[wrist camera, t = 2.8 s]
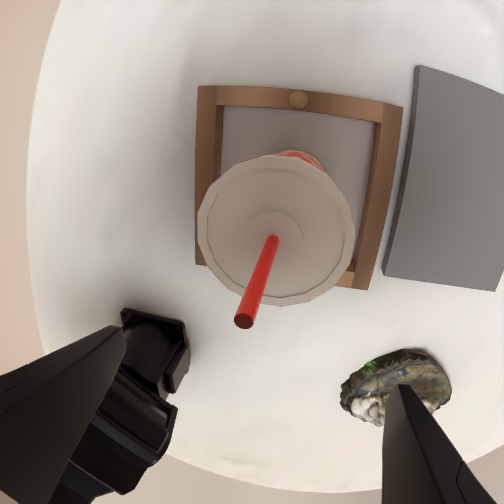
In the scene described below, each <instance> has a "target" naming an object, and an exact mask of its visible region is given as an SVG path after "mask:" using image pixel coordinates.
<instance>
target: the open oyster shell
mask: <svg viewBox="0 0 504 504" xmlns="http://www.w3.org/2000/svg"><path fill="white" fill-rule="evenodd" d="M397 383H406V384H409V385H410V386H411V387H412V388H413V390H414V391H415V392H416V394H417V395H418V397H419V398H420V399H421V401H422V402H423V403H424V405H425V406H426V407H427V409H428V410H429V412H430V413H431V414H433V413H434V411H435V410H437V409H440V406H441V405H444V404H446V403H447V402H448V401H449V400H450V397H451V393H452V388H451V384H450V382H449V380H448V377H447V375H446V374H445V372H444V370H443V369H442V368H441V366H440V365H439V364H438V363H437V362H436V360H435V359H434V358H433V357H431V356H429V355H427V354H425V353H423V352H417V351H411V350H405V349H403V350H400V351H397V352H394V353H390V354H387V355H384V356H381V357H378V358H375V359H373V360H372V361H370V362H368V363H366V364H365V365H364V367H362V368H361V369H359V370H358V371H356V372H354V373H352V374H351V375H350V378H349V379H348V380H346V382H344V383H343V384H342V385H341V388H342V392H341V393H340V398H341V401H340V405H341V407H342V408H343V409H344V410H345V411H349V412H350V413H351V415H352V416H354V417H357V418H359V419H361V420H363V421H364V422H368V421H369V422H371V423H373V424H375V425H376V426H379V427H380V426H383V425H384V421H385V406H386V401H387V398H388V397H389V395H390V393H391V392H392V390H393V388H394V387H395V385H396V384H397Z"/></svg>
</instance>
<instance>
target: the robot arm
mask: <svg viewBox="0 0 504 504" xmlns="http://www.w3.org/2000/svg"><path fill="white" fill-rule="evenodd" d="M120 314H121V319H122V324H123V326H122V327H121V328H120V327H117V326H114V325H110V326H107V327H105V328H103V329H101V330H99V331H97V332H95V333H93V334H90V335H88V336H86V337H84V338H82V339H80V340H78V341H76V342H74V343H71V344H69V345H67V346H65V347H63V348H61V349H59V350H57V351H54V352H52V353H50V354H48V355H46V356H44V357H42V358H39V359H37V360H35V361H33V362H31V363H29V365H28V364H27V365H24V366H22V367H20V368H18V369H16V370H13V371H11V372H9V373H6V374H3V375H1V376H0V504H91V502H92V501H93V500H94V499H95V498H96V497H99V496H102V495H105V494H108V493H111V492H114V491H115V492H117V493H119V494H120V495H125V494H126V493H129V492H130V491H132V490H134V489H135V487H136V485H137V484H138V482H139V481H140V479H141V477H142V475H143V474H144V472H145V471H146V470H147V468H148V467H151V466H153V465H154V464H156V463H157V462H158V461H159V460H160V459H161V458H162V456H163V455H164V453H165V452H166V450H167V448H168V446H169V444H170V441H171V436H172V432H173V428H174V424H175V419H176V415H177V411H178V408H177V407H175V406H174V405H171V404H170V403H168V402H167V401H166V398H167V397H168V395H169V393H171V394H174V393H176V391H177V389H178V387H179V385H180V383H181V381H182V379H183V377H184V375H185V374H186V373H187V372H188V370H189V365H190V357H189V346H188V344H187V343H186V336H185V326H184V324H183V323H181V322H179V321H174V320H170V319H166V318H162V317H158V316H153V315H149V314H145V313H141V312H137V311H134V310H130V309H126V308H124V309H123V310H122V311H121V312H120ZM177 326H178V327H179V328H178V327H177ZM462 460H463V459H462V457H461V456H460V454H459V453H458V451H457V450H456V448H455V447H454V446H453V444H452V443H451V441H450V440H449V438H448V437H447V436H446V434H445V433H444V431H443V430H442V428H441V427H440V426H439V424H438V423H437V421H436V420H435V419H434V417H433V416H432V414H431V413H430V412H429V410H428V409H427V407H426V406H425V405H424V403H423V402H422V401H421V399H420V398H419V397H418V395H417V394H416V392H415V391H414V390H413V388H412V387H411V386H410V385H409V384H406V383H397V384H396V385H395V387H394V388H393V390H392V392H391V393H390V395H389V397H388V398H387V401H386V406H385V421H384V432H383V444H382V504H497V503H496V502H495V501H494V500H493V498H492V497H491V496H490V495H489V494H488V492H487V491H486V490H485V489H484V488H483V486H482V485H481V484H480V483H479V481H478V480H477V479H476V477H475V476H474V475H473V473H472V472H471V470H470V469H469V468H468V466H467V464H466V463H465V461H462Z"/></svg>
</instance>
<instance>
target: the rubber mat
mask: <svg viewBox="0 0 504 504" xmlns="http://www.w3.org/2000/svg"><path fill="white" fill-rule="evenodd" d="M503 271H504V95H502V94H500V93H498V92H495V91H493V90H491V89H488V88H486V87H483V86H481V85H478V84H476V83H473V82H471V81H468V80H465V79H463V78H460V77H457V76H454V75H451V74H448V73H445V72H442V71H439V70H436V69H432V68H429V67H426V66H422V65H419V66H416V67H415V80H414V93H413V104H412V114H411V123H410V131H409V138H408V145H407V152H406V159H405V165H404V171H403V177H402V182H401V187H400V193H399V198H398V203H397V208H396V212H395V217H394V221H393V226H392V230H391V234H390V238H389V243H388V247H387V251H386V254H385V258H384V262H383V266H382V272H383V275H384V276H388V277H395V278H402V279H409V280H416V281H423V282H430V283H437V284H444V285H451V286H458V287H465V288H472V289H479V290H486V291H494V292H495V290H496V288H497V286H498V283H499V281H500V278H501V276H502V273H503Z"/></svg>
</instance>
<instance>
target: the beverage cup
mask: <svg viewBox="0 0 504 504" xmlns="http://www.w3.org/2000/svg"><path fill="white" fill-rule="evenodd" d="M355 238H356V232H355V228H354V223H353V219H352V214H351V210H350V206H349V202H348V201H347V199H346V197H345V196H344V195H343V193H342V192H341V191H340V189H339V188H338V187H337V185H336V184H335V183H334V181H333V180H332V179H331V178H330V176H329V175H328V174H327V173H326V171H325V169H324V168H323V166H322V165H321V164H320V163H319V161H318V160H317V159H316V158H315V157H313V156H311V155H310V154H308V153H306V152H304V151H299V150H291V149H288V150H285V151H281V152H278V153H275V154H272V155H268V154H267V155H264V156H261V157H257V158H254V159H251V160H248V161H244V162H241V163H238V164H236V165H234V166H232V167H231V168H230V169H229V170H228V171H226V172H225V173H224V174H223V175H222V176H221V177H220V178H218V179H217V180H216V181H215V182H214V183H213V184H212V185H211V186H210V187H209V188H208V191H207V193H206V195H205V197H204V200H203V202H202V204H201V206H200V209H199V211H198V213H197V239H198V244H199V247H200V249H201V252H202V254H203V256H204V259H205V261H206V264H207V266H208V268H209V269H210V270H211V271H212V272H213V273H214V275H215V276H216V277H217V278H218V279H219V280H220V281H221V282H222V283H223V284H224V285H225V286H226V287H227V288H228V289H229V290H231V291H233V292H235V293H237V294H239V295H240V296H242V297H243V298H242V300H241V302H240V305H239V307H238V310H237V312H236V315H235V317H234V322H235V324H236V325H237V326H238V327H239V328H242V329H249V328H251V327H252V326H253V323H254V320H255V317H256V314H257V311H258V308H259V305H260V303H262V304H268V305H274V306H280V307H281V306H287V305H293V304H298V303H304V302H309V301H311V300H312V299H314V298H316V297H317V296H319V295H321V294H322V293H324V292H326V291H327V290H329V289H331V288H332V287H333V286H334V285H335V284H336V282H337V281H338V280H339V278H340V277H341V276H342V274H343V273H344V272H345V270H346V269H347V268H348V266H349V265H350V262H351V257H352V252H353V248H354V243H355Z"/></svg>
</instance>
